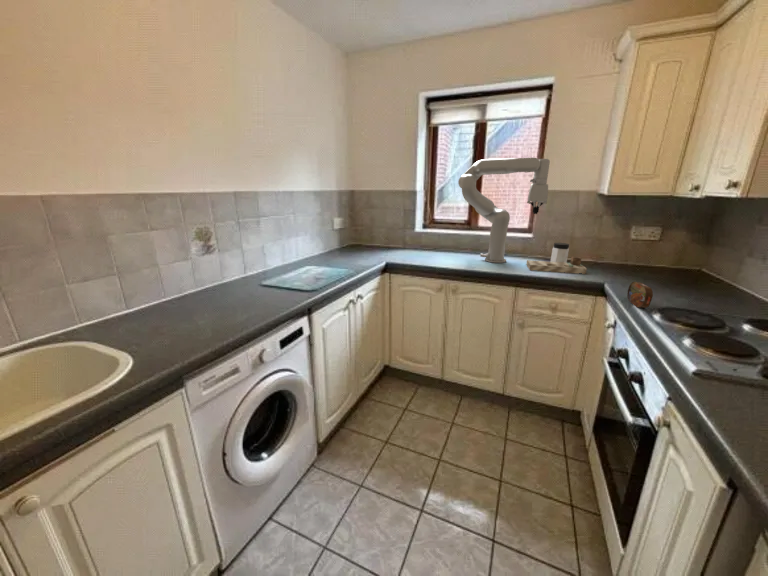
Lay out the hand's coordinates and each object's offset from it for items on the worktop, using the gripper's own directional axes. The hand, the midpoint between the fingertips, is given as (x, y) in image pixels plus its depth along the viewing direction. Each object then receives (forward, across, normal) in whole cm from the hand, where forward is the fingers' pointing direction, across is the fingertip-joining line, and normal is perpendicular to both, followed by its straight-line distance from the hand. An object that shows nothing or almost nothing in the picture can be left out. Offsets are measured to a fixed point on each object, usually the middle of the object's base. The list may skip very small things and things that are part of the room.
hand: (535, 213), depth 196 cm
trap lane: (+29, +11, -18) cm, 36 cm away
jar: (+29, +17, 0) cm, 34 cm away
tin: (+29, +29, -74) cm, 85 cm away
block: (+26, +22, -16) cm, 37 cm away
